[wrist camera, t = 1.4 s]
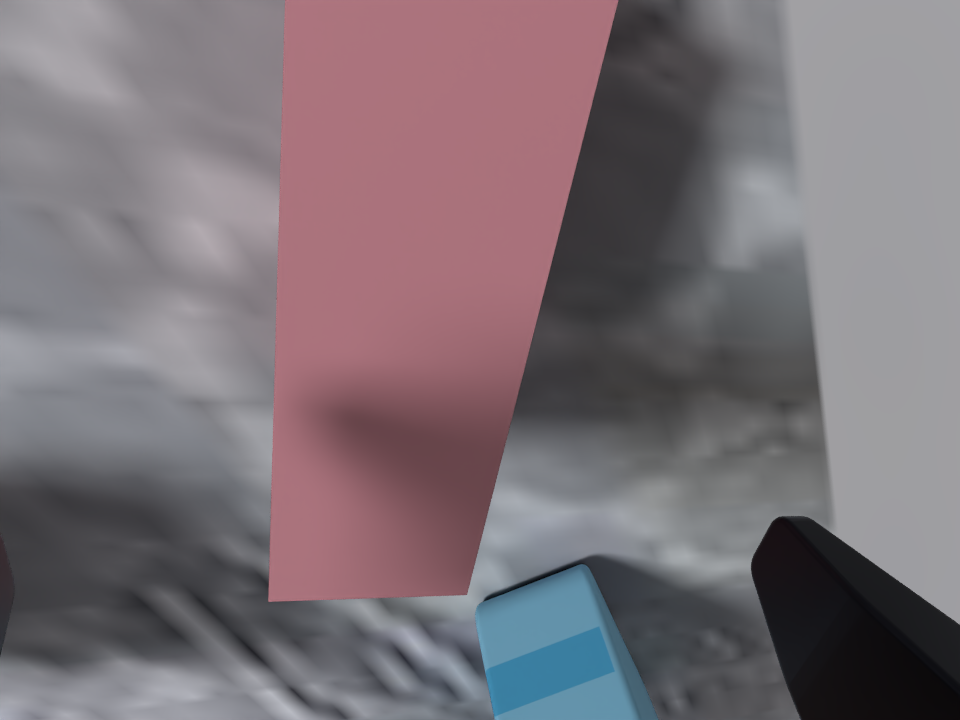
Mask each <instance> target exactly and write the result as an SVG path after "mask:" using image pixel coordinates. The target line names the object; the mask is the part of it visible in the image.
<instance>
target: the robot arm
mask: <svg viewBox="0 0 960 720" xmlns="http://www.w3.org/2000/svg"><path fill="white" fill-rule="evenodd" d="M751 572H752V577H753V581H754V584H755V587H756V590H757V594H758V597H759V600H760V603H761V606H762V609H763V613H764V616H765V619H766V622H767V625H768V629H769V632H770V635H771V638H772V641H773V644H774V648H775V651H776V654H777V657H778V660H779V663H780V667H781V670H782V673H783V675H784V678H785V681H786V684H787V687H788V689H789V692H790V694H791V697H792V700H793V702H794V705H795V707H796V709H797V712H798V714H799V716H800V719H801V720H960V625H959V624H958V623H956V622H955V621H954V620H952V619H951V618H950V617H948V616H946V615H945V614H944V613H943V612H941V611H940V610H938V609H937V608H935V607H934V606H933V605H931V604H930V603H928V602H927V601H926V600H924V599H923V598H922V597H920V596H919V595H917V594H916V593H915V592H913V591H912V590H910V589H909V588H908V587H906V586H905V585H903V584H902V583H900V582H899V581H898V580H896V579H895V578H893V577H892V576H890V575H889V574H888V573H886V572H885V571H884V570H882V569H881V568H879V567H878V566H877V565H875V564H874V563H872V562H871V561H869V560H868V559H867V558H865V557H864V556H862V555H861V554H860V553H858V552H857V551H855V550H854V549H853V548H851V547H850V546H849V545H847V544H846V543H844V542H843V541H842V540H840V539H839V538H837V537H836V536H835V535H833V534H832V533H830V532H829V531H828V530H826V529H825V528H823V527H822V526H821V525H819V524H818V523H816V522H815V521H814V520H812V519H810V518H808V517H804V516H782V517H778V518H776V519H775V520H774V521H773V522H772V523H771V525H770V526H769V528H768V530H767V532H766V534H765V535H764V537H763V539H762V541H761V543H760V545H759V546H758V548H757V550H756V552H755V554H754V556H753V558H752V562H751ZM13 599H14V579H13V575H12V571H11V567H10V563H9V560H8V556H7V552H6V548H5V544H4V541H3V538H2V535H1V533H0V655H1V651H2V646H3V642H4V638H5V634H6V630H7V625H8V621H9V617H10V613H11V609H12V604H13Z"/></svg>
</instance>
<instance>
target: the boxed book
mask: <svg viewBox="0 0 960 720" xmlns="http://www.w3.org/2000/svg"><path fill="white" fill-rule="evenodd" d="M617 4H618V0H285V27H284V62H283V98H282V134H281V169H280V205H279V241H278V276H277V312H276V348H275V383H274V419H273V454H272V490H271V526H270V561H269V597H268V602H275V601H304V600H333V599H362V598H391V597H420V596H449V595H467V592H468V589H469V585H470V581H471V577H472V573H473V569H474V565H475V561H476V557H477V553H478V549H479V545H480V541H481V538H482V534H483V530H484V526H485V522H486V518H487V514H488V510H489V506H490V502H491V498H492V494H493V490H494V487H495V483H496V479H497V475H498V471H499V467H500V463H501V459H502V455H503V451H504V447H505V443H506V439H507V436H508V432H509V428H510V424H511V420H512V416H513V412H514V408H515V404H516V400H517V396H518V392H519V388H520V385H521V381H522V377H523V373H524V369H525V365H526V361H527V357H528V353H529V349H530V345H531V341H532V337H533V334H534V330H535V326H536V322H537V318H538V314H539V310H540V306H541V302H542V298H543V294H544V290H545V286H546V283H547V279H548V275H549V271H550V267H551V263H552V259H553V255H554V251H555V247H556V243H557V239H558V235H559V232H560V228H561V224H562V220H563V216H564V212H565V208H566V204H567V200H568V196H569V192H570V188H571V184H572V180H573V177H574V173H575V169H576V165H577V161H578V157H579V153H580V149H581V145H582V141H583V137H584V133H585V129H586V126H587V122H588V118H589V114H590V110H591V106H592V102H593V98H594V94H595V90H596V86H597V82H598V78H599V75H600V71H601V67H602V63H603V59H604V55H605V51H606V47H607V43H608V39H609V35H610V31H611V27H612V24H613V20H614V16H615V12H616V8H617Z"/></svg>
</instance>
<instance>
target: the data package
mask: <svg viewBox="0 0 960 720" xmlns="http://www.w3.org/2000/svg"><path fill="white" fill-rule="evenodd" d="M475 619H476V627H477V632H478V637H479V642H480V647H481V652H482V658H483V663H484V668H485V673H486V678H487V683H488V688H489V693H490V698H491V703H492V708H493V713H494V718H495V720H658V717H657V715H656V712H655V710H654V707H653V705H652V702H651V700H650V697H649V695H648V693H647V690H646V688H645V686H644V683H643V681H642V679H641V677H640V675H639V673H638V670H637V668H636V666H635V664H634V662H633V660H632V658H631V655H630V653H629V651H628V649H627V647H626V645H625V643H624V641H623V638H622V636H621V634H620V632H619V630H618V628H617V626H616V624H615V621H614V619H613V617H612V615H611V613H610V611H609V609H608V607H607V604H606V602H605V600H604V598H603V596H602V594H601V592H600V590H599V587H598V585H597V583H596V581H595V579H594V577H593V575H592V573H591V571H590V569H589V568H588V566H586V565H584V564H580V565H577V566H575V567H572V568H570V569H567V570H564V571H562V572H559V573H557V574H554V575H551V576H549V577H546V578H544V579H541V580H539V581H536V582H533V583H531V584H528V585H526V586H523V587H520V588H518V589H515V590H513V591H510V592H508V593H505V594H502V595H500V596H497V597H495V598H492V599H490V600H487V601H484V602H482V603H480V604H479V605H478V606H477V609H476V613H475Z"/></svg>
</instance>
